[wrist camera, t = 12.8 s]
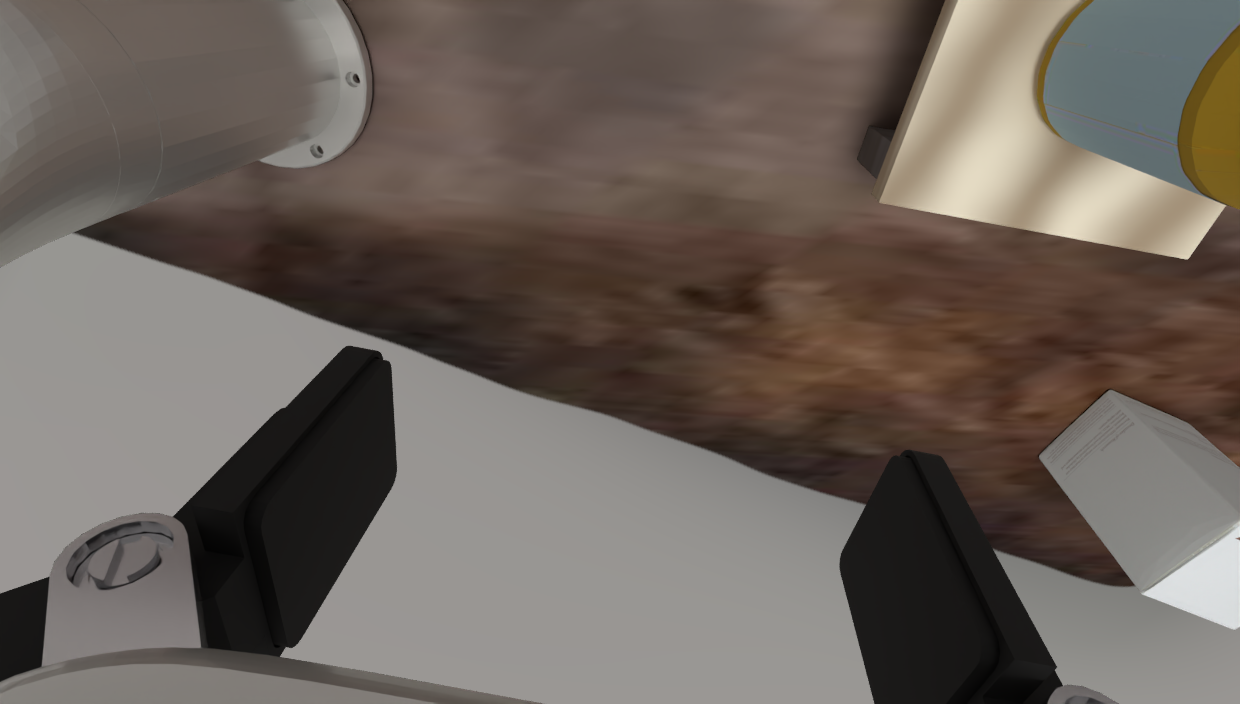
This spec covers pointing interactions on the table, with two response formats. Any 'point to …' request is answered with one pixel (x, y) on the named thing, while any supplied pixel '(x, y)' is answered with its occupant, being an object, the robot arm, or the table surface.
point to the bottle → (1151, 89)
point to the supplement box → (1156, 502)
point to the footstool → (1016, 142)
